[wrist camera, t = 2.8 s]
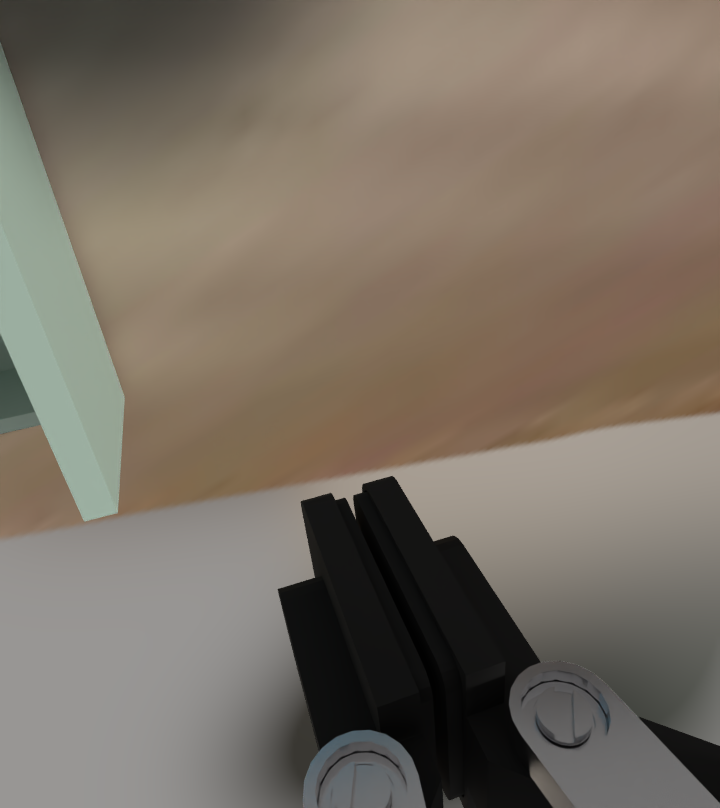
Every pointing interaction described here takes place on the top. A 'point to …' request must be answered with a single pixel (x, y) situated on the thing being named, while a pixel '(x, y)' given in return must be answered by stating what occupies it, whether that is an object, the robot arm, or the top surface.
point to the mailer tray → (51, 326)
